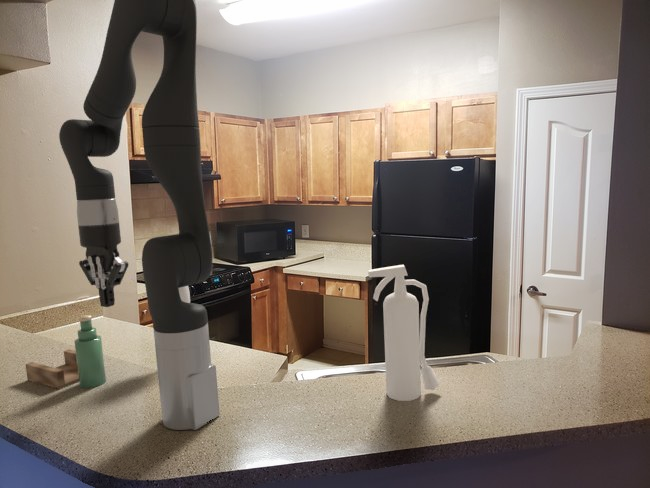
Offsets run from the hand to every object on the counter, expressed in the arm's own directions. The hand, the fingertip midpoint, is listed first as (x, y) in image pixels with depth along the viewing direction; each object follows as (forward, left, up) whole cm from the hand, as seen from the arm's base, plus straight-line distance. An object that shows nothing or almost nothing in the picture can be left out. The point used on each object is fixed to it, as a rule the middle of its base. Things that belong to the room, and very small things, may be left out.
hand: (107, 305), depth 101 cm
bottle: (+8, 0, -18) cm, 20 cm away
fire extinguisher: (-56, -22, -18) cm, 63 cm away
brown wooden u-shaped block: (+18, 0, -18) cm, 25 cm away
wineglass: (0, -17, -18) cm, 25 cm away
